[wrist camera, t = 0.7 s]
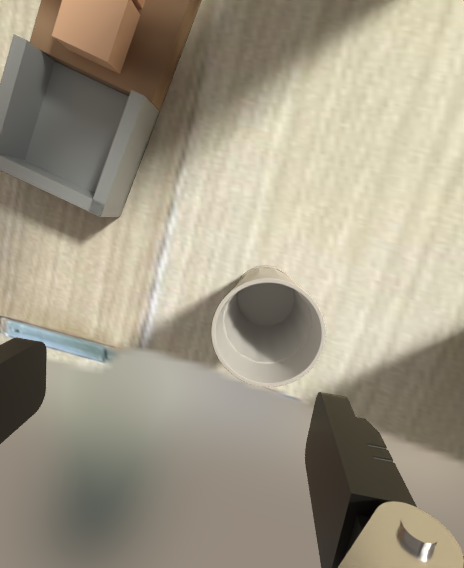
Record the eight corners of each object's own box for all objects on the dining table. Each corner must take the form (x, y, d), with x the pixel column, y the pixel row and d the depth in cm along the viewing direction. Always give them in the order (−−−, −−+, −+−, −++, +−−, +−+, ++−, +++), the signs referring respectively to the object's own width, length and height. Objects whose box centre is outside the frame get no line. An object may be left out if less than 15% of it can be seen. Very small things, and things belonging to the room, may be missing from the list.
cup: (223, 327, 37) (206, 379, 25) (231, 253, 35) (216, 271, 24) (298, 336, 36) (316, 394, 25) (310, 262, 35) (334, 285, 23)
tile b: (87, -11, 30) (71, -31, 27) (140, 14, 30) (129, -4, 27) (68, 49, 31) (51, 35, 28) (119, 74, 31) (107, 62, 28)
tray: (45, 57, 33) (13, 34, 29) (159, 111, 33) (144, 96, 29) (13, 167, 36) (-21, 160, 31) (119, 216, 36) (100, 217, 31)
